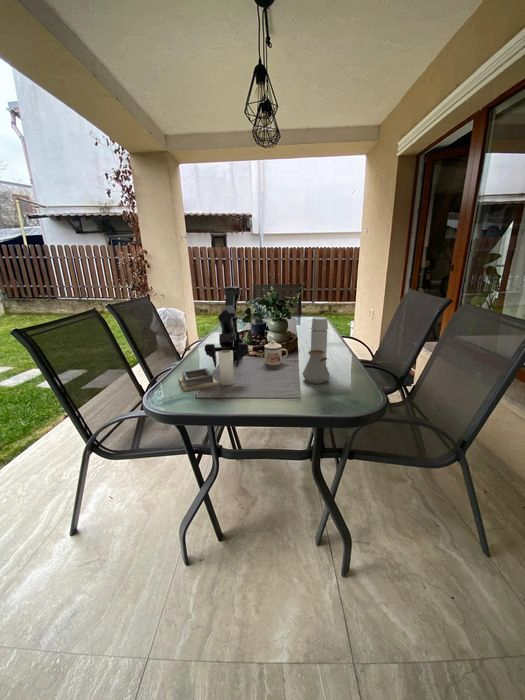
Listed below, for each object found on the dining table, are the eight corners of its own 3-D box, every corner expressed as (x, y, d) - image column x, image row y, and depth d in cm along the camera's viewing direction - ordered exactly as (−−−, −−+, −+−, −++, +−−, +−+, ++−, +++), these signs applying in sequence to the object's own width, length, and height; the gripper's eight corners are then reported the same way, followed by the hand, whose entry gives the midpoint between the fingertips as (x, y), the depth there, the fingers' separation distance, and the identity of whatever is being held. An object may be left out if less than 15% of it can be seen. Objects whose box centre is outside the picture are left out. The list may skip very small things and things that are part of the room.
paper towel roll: (218, 381, 126) (216, 350, 122) (232, 379, 128) (230, 349, 124) (222, 386, 120) (220, 354, 117) (236, 384, 123) (234, 352, 119)
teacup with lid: (264, 366, 144) (264, 343, 141) (264, 360, 153) (263, 339, 150) (288, 365, 144) (288, 342, 141) (286, 359, 153) (286, 338, 150)
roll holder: (179, 379, 129) (178, 371, 128) (209, 374, 134) (209, 366, 133) (184, 391, 117) (183, 382, 116) (217, 385, 122) (217, 376, 121)
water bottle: (326, 373, 132) (328, 319, 125) (309, 372, 133) (310, 319, 126) (326, 367, 140) (328, 316, 133) (310, 366, 142) (311, 316, 135)
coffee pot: (300, 376, 130) (300, 344, 126) (325, 375, 130) (326, 343, 126) (310, 396, 109) (311, 358, 105) (340, 395, 110) (342, 357, 106)
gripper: (203, 326, 122) (200, 358, 114) (247, 325, 122) (247, 357, 114) (208, 339, 132) (205, 370, 124) (249, 338, 131) (248, 369, 124)
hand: (226, 367), depth 121 cm, fingers open, 9 cm apart
